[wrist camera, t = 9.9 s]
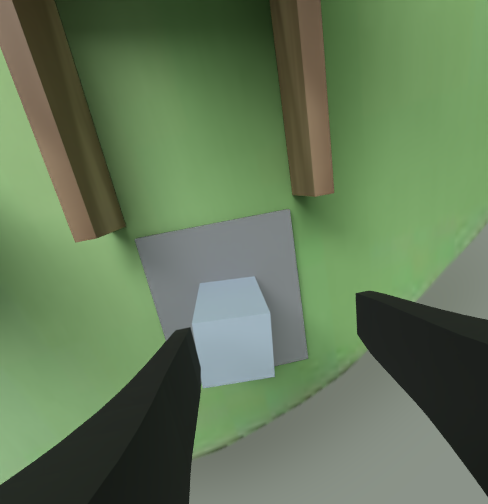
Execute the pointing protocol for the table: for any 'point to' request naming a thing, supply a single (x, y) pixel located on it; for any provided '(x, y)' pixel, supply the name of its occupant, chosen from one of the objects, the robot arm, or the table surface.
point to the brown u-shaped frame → (83, 131)
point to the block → (232, 332)
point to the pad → (229, 273)
